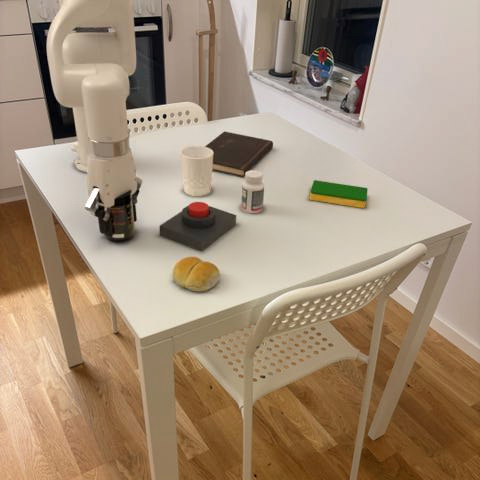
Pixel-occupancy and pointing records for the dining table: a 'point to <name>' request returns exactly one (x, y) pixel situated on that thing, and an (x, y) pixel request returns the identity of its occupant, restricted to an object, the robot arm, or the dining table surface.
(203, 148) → the white cup
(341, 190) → the dish sponge
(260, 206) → the pill bottle
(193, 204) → the button
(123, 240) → the supplement container
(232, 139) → the hardcover book
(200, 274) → the bread roll
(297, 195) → the dining table surface
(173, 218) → the control box
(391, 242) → the dining table surface
